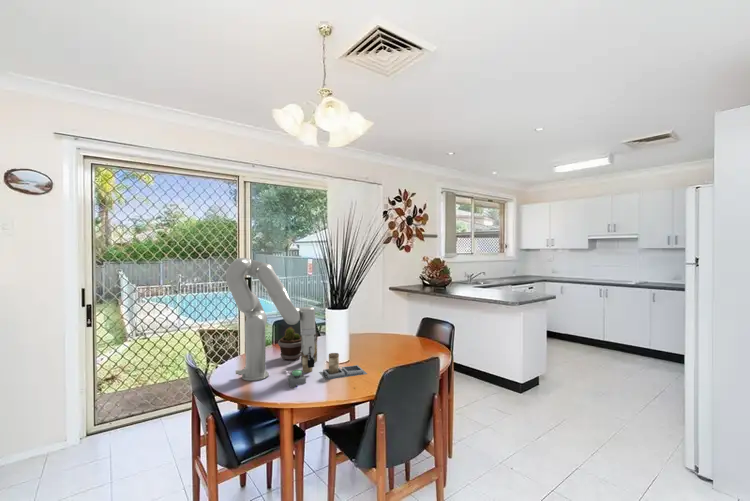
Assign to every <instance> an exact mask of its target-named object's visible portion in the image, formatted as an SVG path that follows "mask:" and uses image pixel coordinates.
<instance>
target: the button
mask: <svg viewBox="0 0 750 501" xmlns="http://www.w3.org/2000/svg"><path fill="white" fill-rule="evenodd" d="M302 373H303V372H302V370H301V369H293V370H292V371H291V375H293V376H295V378H298V377H299V375H301V374H302Z"/></svg>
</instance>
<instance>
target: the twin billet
mask: <svg viewBox="0 0 750 501" xmlns="http://www.w3.org/2000/svg"><path fill="white" fill-rule="evenodd" d="M339 357H340V354H339V353H338V352H330V353H329V354H328V369H329V374H334V373H339V368H340V366H339V365H340V364H339V362H340V358H339Z"/></svg>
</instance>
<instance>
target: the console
mask: <svg viewBox="0 0 750 501" xmlns="http://www.w3.org/2000/svg"><path fill="white" fill-rule="evenodd" d="M287 383H288V385H289V388H292V389H293V388H297V387H298V385H303V384H306V383H307V378H306V376H305V375H304V372H302V374H301V375H299V377H298V378H295V376H293V375H292V374H289V375H287Z"/></svg>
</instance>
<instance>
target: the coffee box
mask: <svg viewBox="0 0 750 501" xmlns="http://www.w3.org/2000/svg"><path fill="white" fill-rule="evenodd" d="M300 337H301V347H302V335H300ZM314 347H315V352H314V364H315V363H316V362H317V361H318V332H315V335H314ZM302 354H303V352H302V350H301V357H300V359H301V360H300V365H301V366H302V361H303V357H302Z"/></svg>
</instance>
